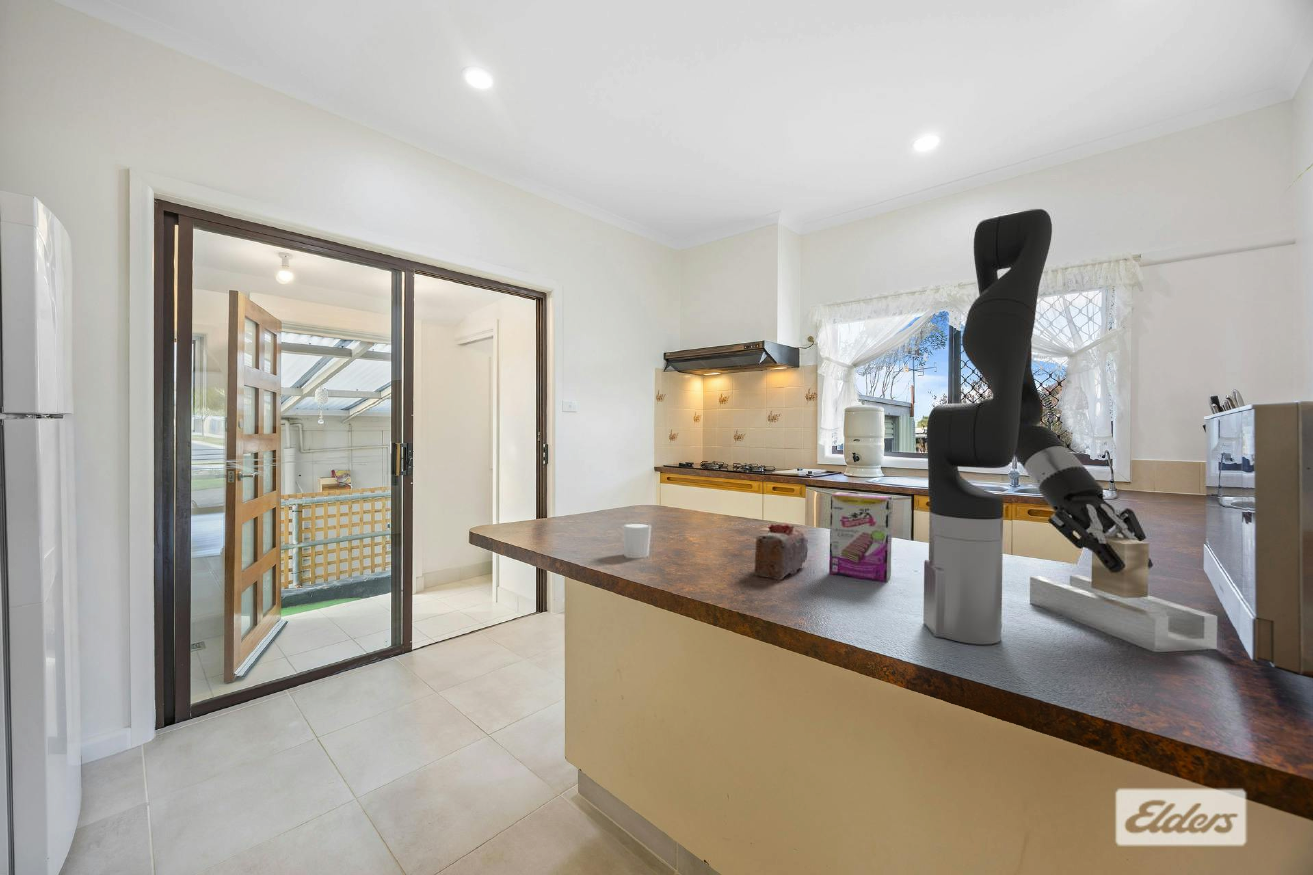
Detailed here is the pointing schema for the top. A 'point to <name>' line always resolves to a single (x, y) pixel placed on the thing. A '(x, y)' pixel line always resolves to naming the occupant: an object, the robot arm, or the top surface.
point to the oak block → (1129, 578)
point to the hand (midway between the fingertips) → (1132, 569)
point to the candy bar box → (861, 536)
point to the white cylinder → (636, 540)
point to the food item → (780, 552)
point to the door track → (1128, 615)
